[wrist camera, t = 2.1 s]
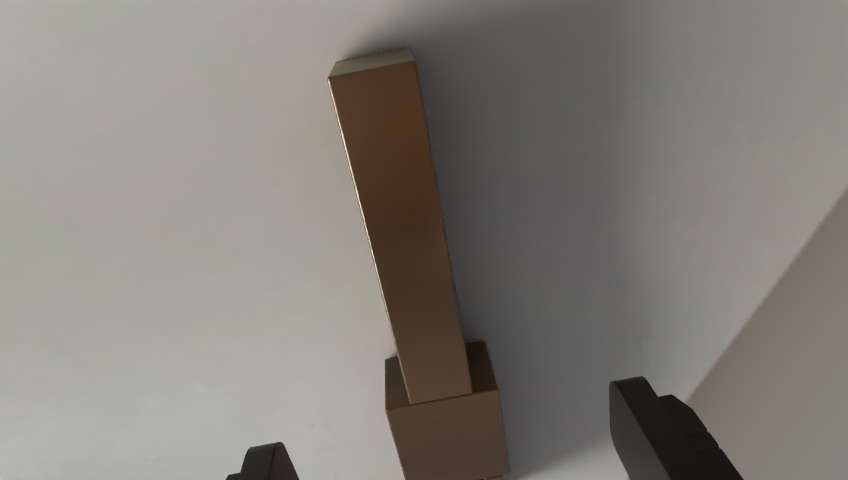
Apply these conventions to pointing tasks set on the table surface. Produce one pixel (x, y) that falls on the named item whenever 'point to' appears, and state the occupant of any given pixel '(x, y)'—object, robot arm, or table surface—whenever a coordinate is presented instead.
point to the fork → (416, 278)
